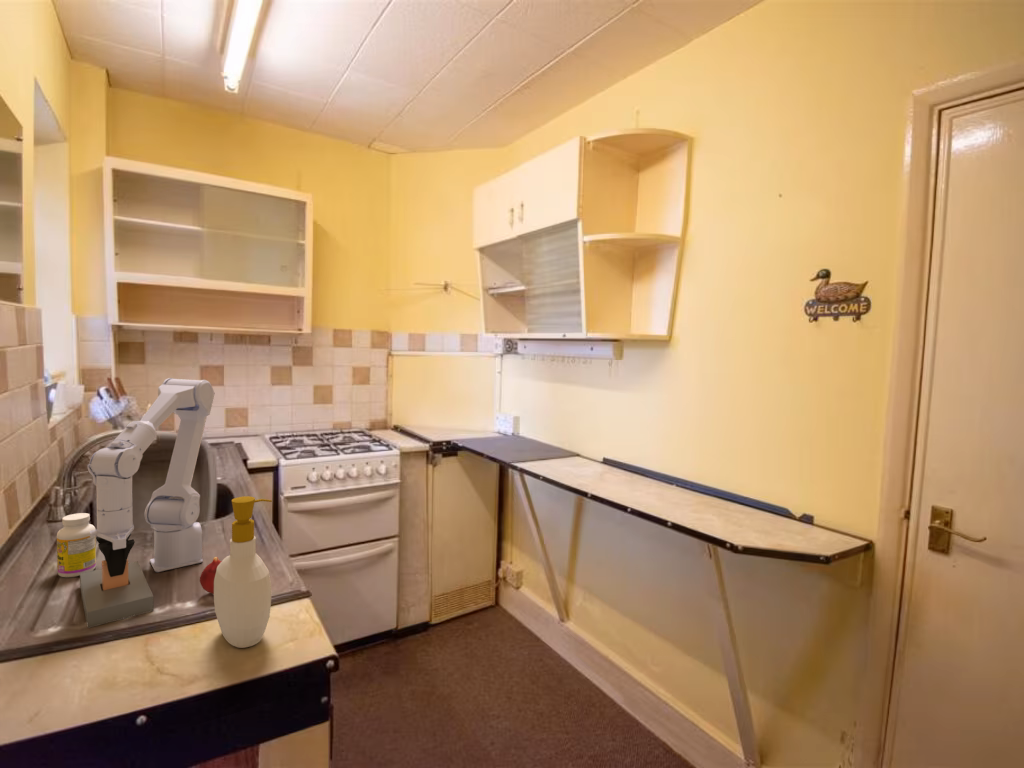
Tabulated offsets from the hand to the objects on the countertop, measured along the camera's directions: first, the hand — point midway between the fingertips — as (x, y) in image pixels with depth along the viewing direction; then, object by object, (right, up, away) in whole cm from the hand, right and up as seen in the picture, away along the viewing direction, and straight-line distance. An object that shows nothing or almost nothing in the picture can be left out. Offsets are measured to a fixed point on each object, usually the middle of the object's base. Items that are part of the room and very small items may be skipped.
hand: (115, 571), depth 104 cm
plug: (0, -4, 0) cm, 4 cm away
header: (0, -6, 0) cm, 6 cm away
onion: (+18, -6, +4) cm, 20 cm away
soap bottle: (+32, -8, -10) cm, 34 cm away
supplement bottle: (-17, -4, +11) cm, 21 cm away
